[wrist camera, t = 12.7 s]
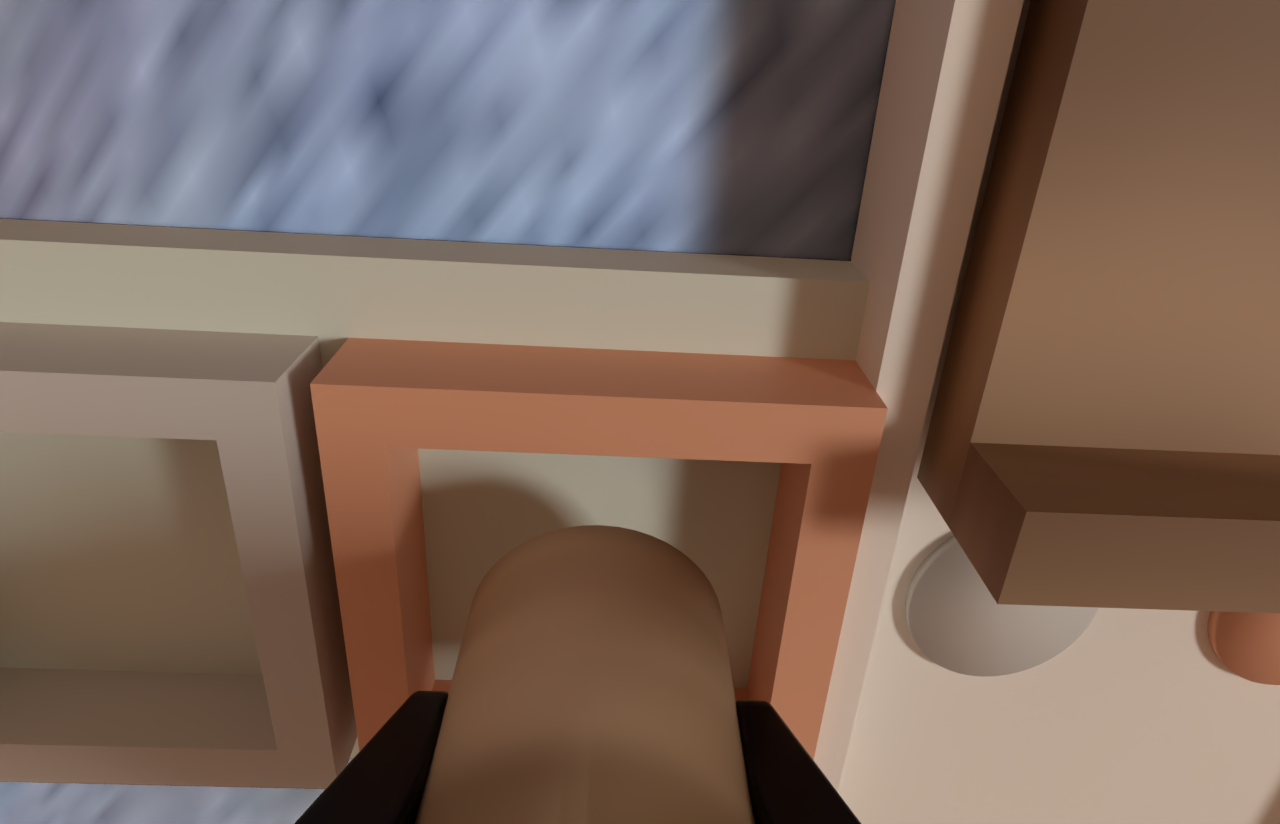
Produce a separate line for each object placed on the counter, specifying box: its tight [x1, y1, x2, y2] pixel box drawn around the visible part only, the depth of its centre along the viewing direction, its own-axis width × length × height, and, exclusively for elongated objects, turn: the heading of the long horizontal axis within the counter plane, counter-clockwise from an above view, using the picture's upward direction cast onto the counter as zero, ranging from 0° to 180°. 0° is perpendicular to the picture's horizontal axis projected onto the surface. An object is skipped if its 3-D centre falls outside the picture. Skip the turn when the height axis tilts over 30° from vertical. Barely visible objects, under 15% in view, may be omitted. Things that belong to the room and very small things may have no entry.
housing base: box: [814, 0, 1280, 824], centre depth 12 cm, size 16×11×2 cm
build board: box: [0, 219, 888, 789], centre depth 12 cm, size 9×14×2 cm, turn 87°
